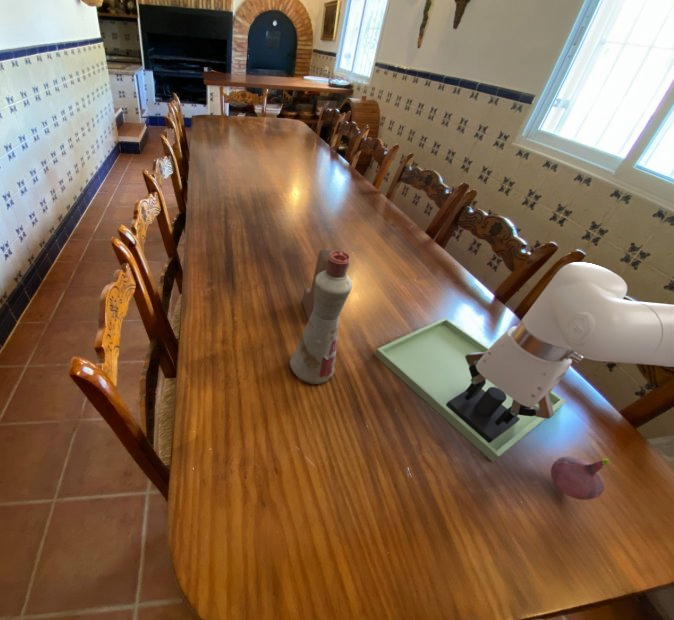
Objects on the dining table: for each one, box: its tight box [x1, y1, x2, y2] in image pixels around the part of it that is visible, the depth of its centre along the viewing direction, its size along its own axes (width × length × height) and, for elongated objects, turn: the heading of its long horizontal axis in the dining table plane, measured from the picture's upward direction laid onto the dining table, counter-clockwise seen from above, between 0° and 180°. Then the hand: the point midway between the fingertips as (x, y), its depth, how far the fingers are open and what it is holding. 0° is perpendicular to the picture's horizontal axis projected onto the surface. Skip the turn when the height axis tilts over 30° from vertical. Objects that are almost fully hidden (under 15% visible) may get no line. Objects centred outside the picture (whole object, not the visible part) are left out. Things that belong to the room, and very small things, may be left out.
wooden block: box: [301, 249, 339, 322], centre depth 82 cm, size 9×4×18 cm, turn 5°
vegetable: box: [550, 456, 610, 501], centre depth 55 cm, size 6×6×10 cm
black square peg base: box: [446, 387, 520, 443], centre depth 65 cm, size 9×9×6 cm
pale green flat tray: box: [374, 316, 567, 463], centre depth 74 cm, size 28×24×2 cm
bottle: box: [289, 250, 353, 385], centre depth 65 cm, size 9×9×28 cm
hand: (485, 408), depth 66 cm, fingers open, 5 cm apart
